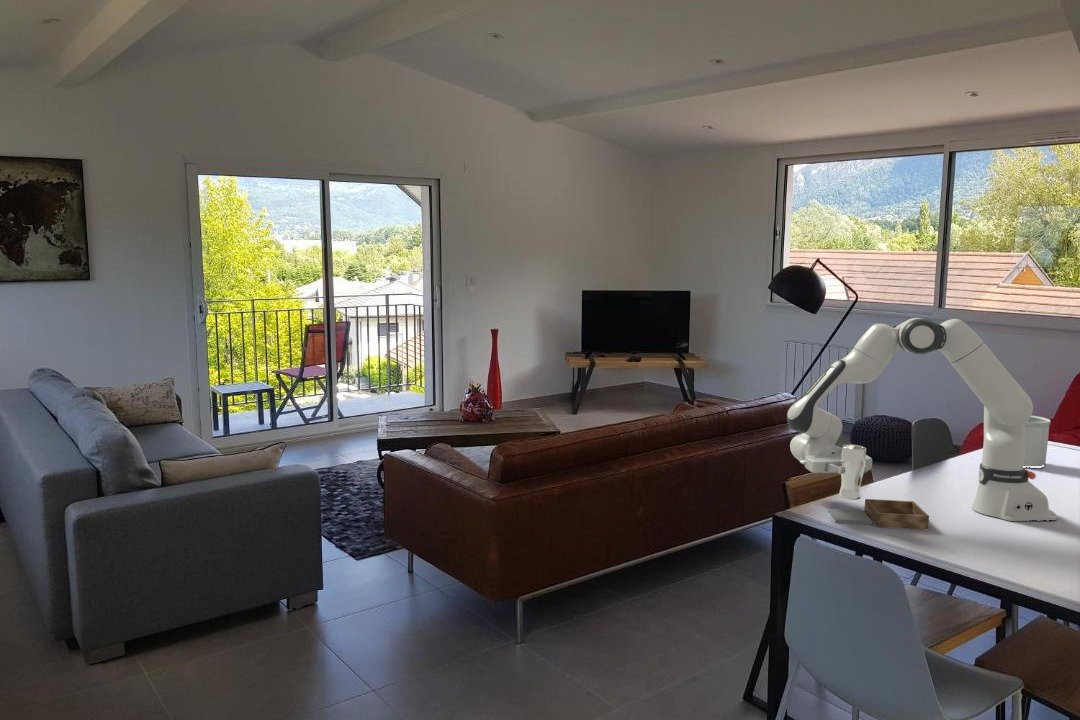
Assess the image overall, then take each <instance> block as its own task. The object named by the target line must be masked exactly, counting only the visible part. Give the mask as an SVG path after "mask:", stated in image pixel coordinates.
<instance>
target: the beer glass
mask: <svg viewBox="0 0 1080 720" xmlns="http://www.w3.org/2000/svg"><path fill="white" fill-rule="evenodd" d="M841 446H842V452H841V459H840V466H841V467H843V468H844V469H845V470H844V474H840V476H841V482H840V483H841V484H840V485H841V486H840V489H839V493H838V496H839V497H841V498H843V499H847V500H853V501H854V500H860V499H861V497H862V492H861V485H862V480H863V476H864V473H865V472H864V470H865V464H866V455H867V448H866V447H864V446H863V445H858V444H851V443H850V444H849V443H848V444H843V445H841Z"/></svg>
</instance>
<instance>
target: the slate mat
mask: <svg viewBox="0 0 1080 720" xmlns="http://www.w3.org/2000/svg"><path fill="white" fill-rule="evenodd" d="M827 512H828V514H829V513H830V514H831V515H830V514H829V515H830V517H831V516H832V517H833V518H832V517H831V518H832V519H834V520H835V521H834V520H833V521H834V522H835V523H836V522H839V524H851V523H855V524H854V525H856V524H857V525H872V523H873V522H872V520H871V519H870V518H869V517H868V516H867V514H866V513H865V512H864V510H863V509H862V510H861V509H841V508H828V510H827Z"/></svg>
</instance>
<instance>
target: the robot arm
mask: <svg viewBox="0 0 1080 720" xmlns="http://www.w3.org/2000/svg"><path fill="white" fill-rule="evenodd" d="M901 351H904V352H907V353H908V354H912V355H926V354H929V353H931V352H934V351H939V352H940V353H941V354H942V355H943V356H944V357H945V358H946V360H947V361H948V362H949V363H950V365H951V366H952V367H953V368H954V370H955V371H956V373H957V374H959V376H960V377H961V378H962V380H963V381H964V383H966V385H967V386H968V387H969V388H970V389H971V391H972V392H973V393H974V395H975V396H976V397H977V399H978V400H979V401H980V402H981V403H982V404H983V446H982V455H981V459H982V460H981V463H980V464H979V471H978V482H979V483H978V487H977V492H976V495H975V498H974V500H973V504H972V506H971V508H972V510H974V511H975V512H977V513H980V514H982V515H985V516H989V517H994V518H998V519H1001V520H1004V521H1008V522H1009V521H1010V522H1033V521H1032V520H1037V521H1038V522H1039V521H1040V522H1044V521H1043V520H1046V521H1045V522H1048V521H1049V520H1056V519H1057V518H1058V517H1057V514H1056V513H1055V512H1054V511H1052V510H1051V509H1050V507H1049V501H1048V497H1047V496H1046V495H1045V493H1043V492H1042V491H1041V490H1040V489H1039V488H1038V487H1036V486H1035V485H1034V484H1033V483H1031V482H1030V481H1029V479H1030V480H1035V479H1036V477H1037V474H1036V473H1035V472H1033V471H1029V470H1028V469H1027V468H1023V464H1024V454H1025V426H1024V423H1026V422H1027V421H1028V420H1029V419H1030V417H1031V416H1033V415H1032V414H1033V411H1034V404H1033V401H1032V399H1031V398H1030V396H1029V394H1027V393H1026V391H1025V390H1024V389H1023V388H1022V386H1020V384H1019V383H1018V382H1017V380H1015V378H1014V377H1013V376H1012V374H1011V373H1010V372H1009V371H1008V370H1007V369H1006V367H1005V366H1004V365H1003V364H1002V363H1001V361H1000V360H999V359H998V358H997V356H996V355H995V354H994V353H993V351H992V350H991V349H990V348H989V347H988V346H987V344H986V343H985V342H984V340H983V339H982V338H981V337H980V336H979V335H978V333H976V331H974V330H973V328H971V327H970V326H969V325H968V324H967V323H966V322H964V321H963V320H961V319H959V318H952V319H948V320H945V321H943V322H941V323H940V324H939V323H936V322H934V321H931V320H930V319H925V318H923V317H922V318H921V317H912V318H909V319H906V320H903V321H901V322H900V323H897V324H896V325H894V326H890V325H888V324H885V323H874V324H872V325H871V326H870V327H869V328H868V329H867V330H866V331H865V332H864V333H863V335H862V336H861V337H860V338H859V339H858V341H857V343H856V344H855V345H854V347H853V348H852V350H851V351H850V352H849V353H848V354H847V355H846V356H844V357H843V358H841V359H838V360H834V361H833V362H832V363H831V364H829V365H828V366H827V368H826V369H824V371H823V372H822V373H821V374H820V375H819V376H818V377H817V379H816V380H815V381H814V382H813V383H812V384H811V385H810V387H808V389H807V390H806V391H805V393H803V394H802V396H801V397H800V398H798V399H797V400H796V401H794V403H792V404H791V405H790V406H789V408H788V410H787V411H786V412H787V413H786V421H787V423H788V426H789V428H790V430H792V431H795V432H798V433H800V434H797V435H795V436H794V437H792V439H791V441H790V444H789V447H790V452H791V454H792V455H793V458H795V459H797V460H798V461H799V463H800V464H802V465H804V468H805V469H806V470H807V471H808V472H809V471H810V473H814V474H833V473H837V474H839V475H841V474H844V470H845V469H844V468H843V467H841V466H840V459H841V452H842V446H843V445H838V444H839V443H840V441H841V439H842V437H843V434H844V425H843V421H842V419H841V418H840V417H839V416H836V415H835V414H833V413H831V412H829V411H826V410H824V409H823V408H821V407H819V405H820V403H821V402H822V401H823V400H824V399H825V397H827V395H829V393H830V392H831V391H832V390H833V389H834V388H835V387H836V386H838V385H840V384H857V385H860V384H862V385H864V384H869V383H871V382H874V381H876V380H877V379H878V378H879V377H880V376H881V374H883V372H884V370H885V369H886V367H887V365H888V364H889V362H890V361H891V358H893V357H894V356H895V355H896V354H897V353H899V352H901ZM872 466H873V459H872V457H870V456H869V455H867V454H866V464H865V470H864V473H868V471H871V470H872ZM1030 520H1031V521H1030ZM1041 520H1042V521H1041ZM1057 520H1058V519H1057ZM1057 520H1056V521H1057ZM1037 521H1036V522H1037ZM1049 522H1050V521H1049Z"/></svg>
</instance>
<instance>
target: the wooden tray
mask: <svg viewBox="0 0 1080 720" xmlns="http://www.w3.org/2000/svg"><path fill="white" fill-rule="evenodd" d="M864 501H865V502H864V510H863V511H864V512H865V514H866V515H867V516H868V517H869V519H870V520H871V521H872V523H873V524H874V526H875V527H877V528H888V529H889V528H890V529H904V528H910V529H909V530H923V529H928V530H929V522H930V516H929V514H927V513H926V512H925V511H924V510H923V509H922V508H921V507H920V506H919V504H917V503H916V502H915V501H913V500H912V501H911V500H893V499H874V498H865V500H864Z"/></svg>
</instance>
